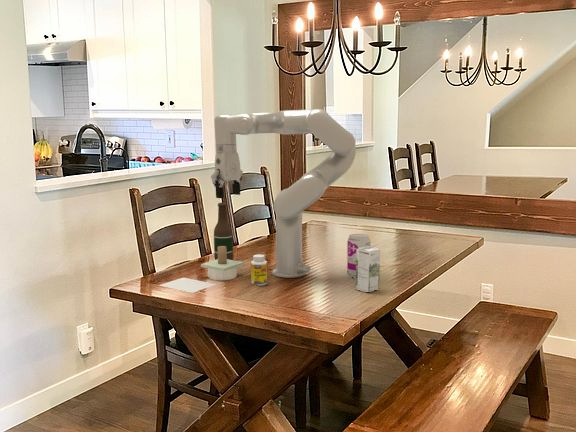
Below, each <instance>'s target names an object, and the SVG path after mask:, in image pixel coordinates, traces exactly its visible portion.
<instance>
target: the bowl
mask: <svg viewBox="0 0 576 432" xmlns="http://www.w3.org/2000/svg"><path fill="white" fill-rule="evenodd" d="M237 268H238V267H236V268H233V269H230V270H227V271H220V270H214V269H209V268H207V276H208V277H207V278H209V279H210V280H213V281H229V280H233V279H236V278H237V276H238V269H237Z"/></svg>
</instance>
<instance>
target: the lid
mask: <svg viewBox="0 0 576 432" xmlns="http://www.w3.org/2000/svg"><path fill="white" fill-rule="evenodd" d="M244 265H245V261H240V260H234V259H233V260H229V259H227V250H226V246H218V259H216V260H215V259H214V260H210V261H206V262H204V263H201V264H200V268H204V269H205V268H206V269H208V268H209V269H214V270H220V271H227V270H230V269H233V268H236V267H237V268H238V267H241V266H244Z"/></svg>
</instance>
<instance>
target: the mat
mask: <svg viewBox="0 0 576 432" xmlns="http://www.w3.org/2000/svg"><path fill="white" fill-rule="evenodd" d="M216 285H217V283H213V282H207V281H203V280H197V279H192V278H187V277H181V278H177V279H174V280H171V281H168V282H165V283H161V284H159V285H158V287H159V286H160V287H164V288H169V289H172V290H179V291H182V292H186V293H191V294H195V292H196V293H197V292H199V291H201V290H204V289H207V288H210V287H213V286H216Z"/></svg>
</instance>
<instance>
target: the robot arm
mask: <svg viewBox="0 0 576 432" xmlns="http://www.w3.org/2000/svg"><path fill="white" fill-rule="evenodd" d="M213 121H214V137H215V139H214V140H215V155H214V157H215V158H214V172H213V173H212V175H211V176H210V178H211V181H212V184H213V186H214V188H215V198H216V199H224V198H225V194H224V193H225V192H224V187H223V185H224V183H225V182H232V183H231V184H232V185H231V187H232V188H231V189H232V190H231V192H232V195H233V196H235V195H238V196H240V195H241V183H242V179H243V174H244V172H243V170H241V161H240V156H239V153H238V150H237V149H238V148H237V147H238V146H237V135H240V136H248V135H253V134H255V135H256V134H278V135H303V134H304V135H307V134H308V135H309V134H312V135H313V136H315V137H316V138H317V139H318V140H319V141H320V142H321V143H322V144H323V145H325V146H326V147H327V148H328V149H330V150H331V153H330V154H329V155H328V156H327V157H326V158H325V159H324V160H322V161H321V162H320V163H319V164H317V165H316V166H315V167H314V168H312V169H311V170H309V171H308V172H306V173H304V174H303V175H302V176H301V177H300V178H299V179H298V180H296V181H295V182H294V183H293V184H292V185H290V186H289V187H287V188H284V189H282V190H281V191H279V193H278V194H276V197H275V198H274V201H273V210H274V213H275V214H276V215H275V217H276V218H275V219H276V220H275V221H276V222H275V231H276V232H275V237H276V238H275V241H276V244H275V245H276V246H275V247H276V249H275V250H276V251H275V252H276V268H273V269H272V275H273V276H276V277H278V278H288V279H289V278H290V279H291V278H300V277H303V276H306V275H307V274H308V273H310V271H311V266H308V265H306V264H305V261H303V212H304V211H305V210H306V209H308V208H309V207H310V206H312V205H313V204H314V203H315V202H317V201H318V200H319V199H321V197H322V196H323V195H324V194H325V192H326V190H327V189H328V188H329V187H330V186H332V185H333V184H334V183H335V182H337V181H338V180H340V178H342V177H343V176H344V175H345V174H346V173H347V172H348V171H349V169H350V168H351V167H352V165H353V163H354V161H355V158H356V157H355V156H356V151H357V149H356V148H357V146H356V138H355V136H354V135H353V134H352V133H351V132H350V131H349V130H347V129H346V128H344V127H343V126H342V125H341V124H340V123H338V121H336V120H335V118H333V117H332V116H331V115H330V114H329V113H328V111H326V110H325V109H322V108H311V109H310V108H309V109H308V108H307V109H286V110H279V111H273V112H257V113H256V112H255V113H254V112H253V113H249V112H248V113H247V112H246V113H239V114H235V115H234V114H233V115H232V114H218V115H215V117H214V120H213Z"/></svg>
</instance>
